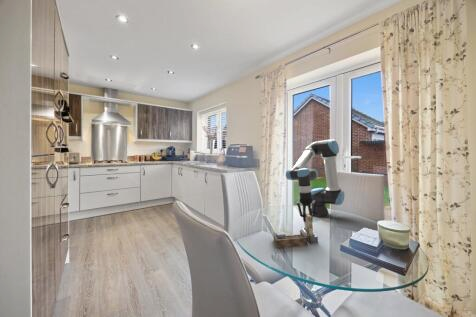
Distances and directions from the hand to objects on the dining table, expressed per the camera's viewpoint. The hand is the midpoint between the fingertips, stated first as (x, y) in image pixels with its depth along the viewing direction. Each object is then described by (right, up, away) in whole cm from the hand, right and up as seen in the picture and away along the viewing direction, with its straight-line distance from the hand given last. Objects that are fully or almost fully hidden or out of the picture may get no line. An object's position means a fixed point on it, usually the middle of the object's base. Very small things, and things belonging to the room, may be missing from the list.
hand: (308, 226), depth 131 cm
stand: (+1, -8, 0) cm, 7 cm away
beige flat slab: (+1, -7, 0) cm, 6 cm away
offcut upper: (-19, -7, -2) cm, 20 cm away
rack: (-13, -9, -3) cm, 16 cm away
